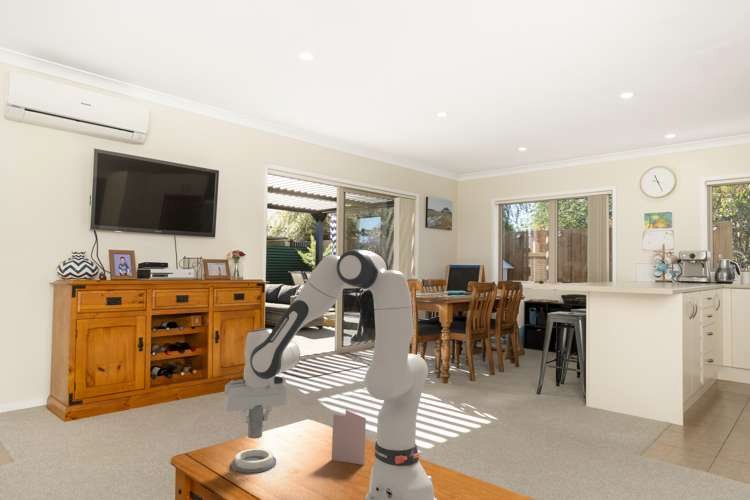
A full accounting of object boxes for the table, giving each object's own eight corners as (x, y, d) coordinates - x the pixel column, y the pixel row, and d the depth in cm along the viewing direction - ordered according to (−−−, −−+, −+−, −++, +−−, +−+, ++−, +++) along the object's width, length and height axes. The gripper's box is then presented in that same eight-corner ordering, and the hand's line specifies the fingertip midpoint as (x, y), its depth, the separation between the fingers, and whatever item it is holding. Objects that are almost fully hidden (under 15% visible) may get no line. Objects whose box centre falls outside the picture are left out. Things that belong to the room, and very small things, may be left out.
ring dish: (282, 468, 152) (282, 459, 153) (238, 476, 145) (238, 467, 145) (268, 452, 164) (268, 444, 164) (226, 460, 157) (226, 451, 157)
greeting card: (366, 464, 158) (367, 417, 158) (347, 469, 153) (349, 421, 154) (346, 453, 167) (347, 409, 167) (328, 457, 162) (329, 412, 163)
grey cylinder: (258, 439, 153) (260, 406, 153) (245, 437, 153) (246, 405, 154) (264, 434, 157) (265, 402, 157) (251, 433, 158) (252, 401, 158)
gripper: (227, 383, 148) (225, 429, 147) (290, 377, 158) (288, 420, 158) (222, 379, 153) (220, 423, 153) (283, 373, 164) (282, 414, 163)
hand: (255, 421), depth 155 cm, fingers closed on grey cylinder, 5 cm apart
